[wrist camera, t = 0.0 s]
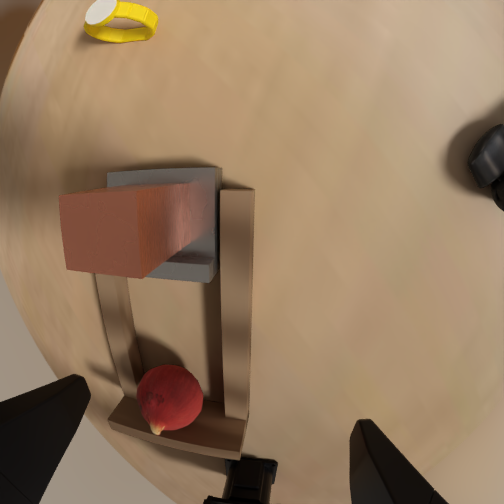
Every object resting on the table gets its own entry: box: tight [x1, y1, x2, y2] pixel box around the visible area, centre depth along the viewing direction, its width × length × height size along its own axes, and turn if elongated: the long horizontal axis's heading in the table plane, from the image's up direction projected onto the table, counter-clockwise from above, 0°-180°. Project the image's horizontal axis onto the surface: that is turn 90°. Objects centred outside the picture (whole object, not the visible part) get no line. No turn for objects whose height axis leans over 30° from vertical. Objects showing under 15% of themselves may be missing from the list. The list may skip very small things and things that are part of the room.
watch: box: [84, 0, 158, 43], centre depth 15 cm, size 6×3×6 cm, turn 79°
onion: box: [136, 365, 203, 435], centre depth 22 cm, size 6×6×8 cm
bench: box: [95, 189, 255, 460], centre depth 21 cm, size 22×13×6 cm, turn 179°
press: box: [59, 167, 222, 283], centre depth 17 cm, size 7×8×9 cm
